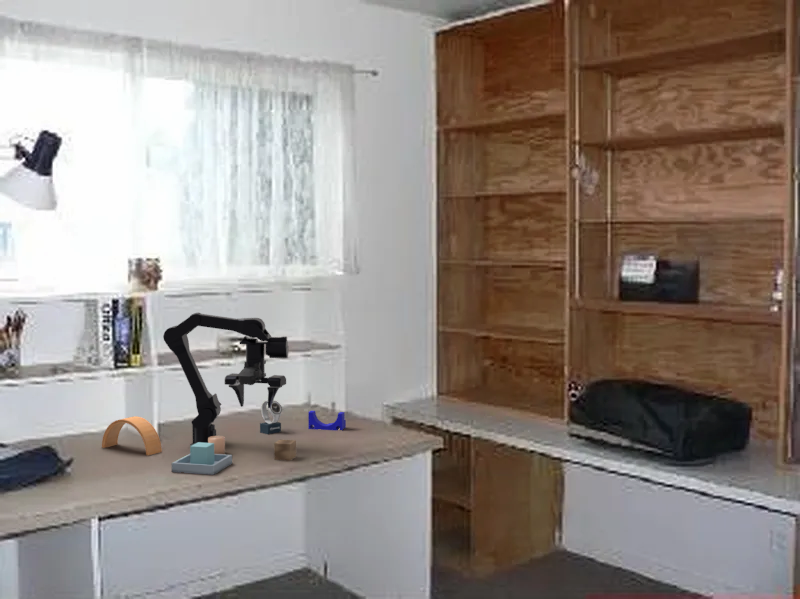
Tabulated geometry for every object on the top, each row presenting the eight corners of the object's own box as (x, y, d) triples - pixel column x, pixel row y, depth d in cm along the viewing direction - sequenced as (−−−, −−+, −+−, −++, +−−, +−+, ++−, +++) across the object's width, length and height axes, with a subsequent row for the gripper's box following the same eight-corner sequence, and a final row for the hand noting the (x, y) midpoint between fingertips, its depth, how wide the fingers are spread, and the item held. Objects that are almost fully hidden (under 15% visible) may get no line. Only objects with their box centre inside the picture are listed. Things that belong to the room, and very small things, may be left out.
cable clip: (345, 428, 302) (345, 411, 301) (342, 431, 297) (342, 413, 297) (312, 426, 304) (312, 409, 304) (308, 429, 300) (308, 412, 299)
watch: (271, 435, 290) (271, 402, 289) (256, 431, 295) (256, 399, 294) (284, 432, 294) (284, 400, 293) (270, 429, 299) (269, 397, 299)
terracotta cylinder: (205, 455, 263) (205, 439, 262) (212, 451, 267) (212, 435, 267) (220, 456, 261) (220, 439, 261) (227, 452, 266) (227, 436, 266)
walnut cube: (274, 459, 258) (274, 443, 257) (280, 455, 263) (280, 439, 262) (290, 461, 257) (290, 444, 256) (296, 456, 261) (296, 440, 261)
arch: (147, 456, 262) (146, 423, 261) (101, 448, 272) (101, 416, 271) (161, 452, 267) (161, 419, 266) (116, 444, 277) (115, 413, 276)
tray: (171, 471, 243) (171, 463, 243) (192, 460, 256) (192, 452, 256) (213, 474, 241) (213, 465, 240) (232, 463, 253) (232, 454, 253)
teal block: (190, 467, 246) (190, 446, 246) (198, 462, 251) (198, 442, 251) (206, 468, 245) (206, 447, 245) (214, 463, 250) (214, 443, 250)
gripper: (216, 360, 269) (217, 410, 270) (273, 362, 265) (273, 413, 266) (231, 355, 280) (232, 404, 281) (286, 357, 275) (286, 406, 276)
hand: (255, 407), depth 276 cm, fingers open, 9 cm apart
